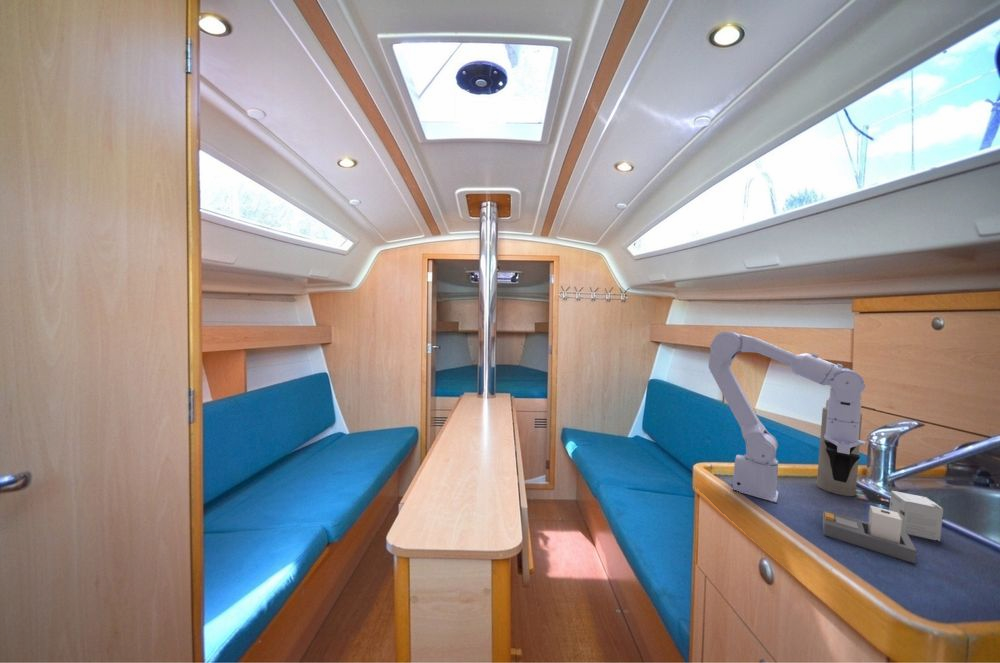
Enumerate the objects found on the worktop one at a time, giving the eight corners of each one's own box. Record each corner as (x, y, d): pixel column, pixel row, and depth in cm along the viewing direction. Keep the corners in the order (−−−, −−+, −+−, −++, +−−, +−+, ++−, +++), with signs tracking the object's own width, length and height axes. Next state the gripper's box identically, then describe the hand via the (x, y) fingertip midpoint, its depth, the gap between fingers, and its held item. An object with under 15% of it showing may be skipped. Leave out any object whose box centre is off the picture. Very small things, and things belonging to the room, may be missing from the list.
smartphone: (849, 489, 102) (849, 485, 102) (928, 507, 93) (929, 502, 93) (856, 500, 95) (857, 496, 95) (942, 520, 87) (943, 515, 87)
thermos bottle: (836, 483, 104) (844, 388, 104) (864, 497, 96) (872, 393, 96) (809, 482, 104) (816, 386, 104) (834, 495, 97) (842, 392, 96)
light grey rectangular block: (870, 545, 74) (872, 511, 74) (867, 537, 77) (870, 504, 77) (898, 554, 71) (901, 518, 71) (894, 545, 74) (897, 511, 74)
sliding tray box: (823, 534, 77) (824, 520, 77) (822, 520, 83) (823, 507, 83) (915, 563, 68) (916, 547, 68) (906, 545, 75) (907, 530, 74)
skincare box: (887, 520, 85) (889, 489, 84) (923, 528, 82) (926, 496, 82) (902, 533, 79) (905, 500, 79) (941, 542, 76) (944, 508, 76)
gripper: (871, 429, 77) (866, 491, 77) (862, 418, 88) (858, 472, 89) (827, 422, 82) (822, 481, 82) (824, 412, 93) (820, 464, 93)
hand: (838, 476), depth 86 cm, fingers open, 7 cm apart
